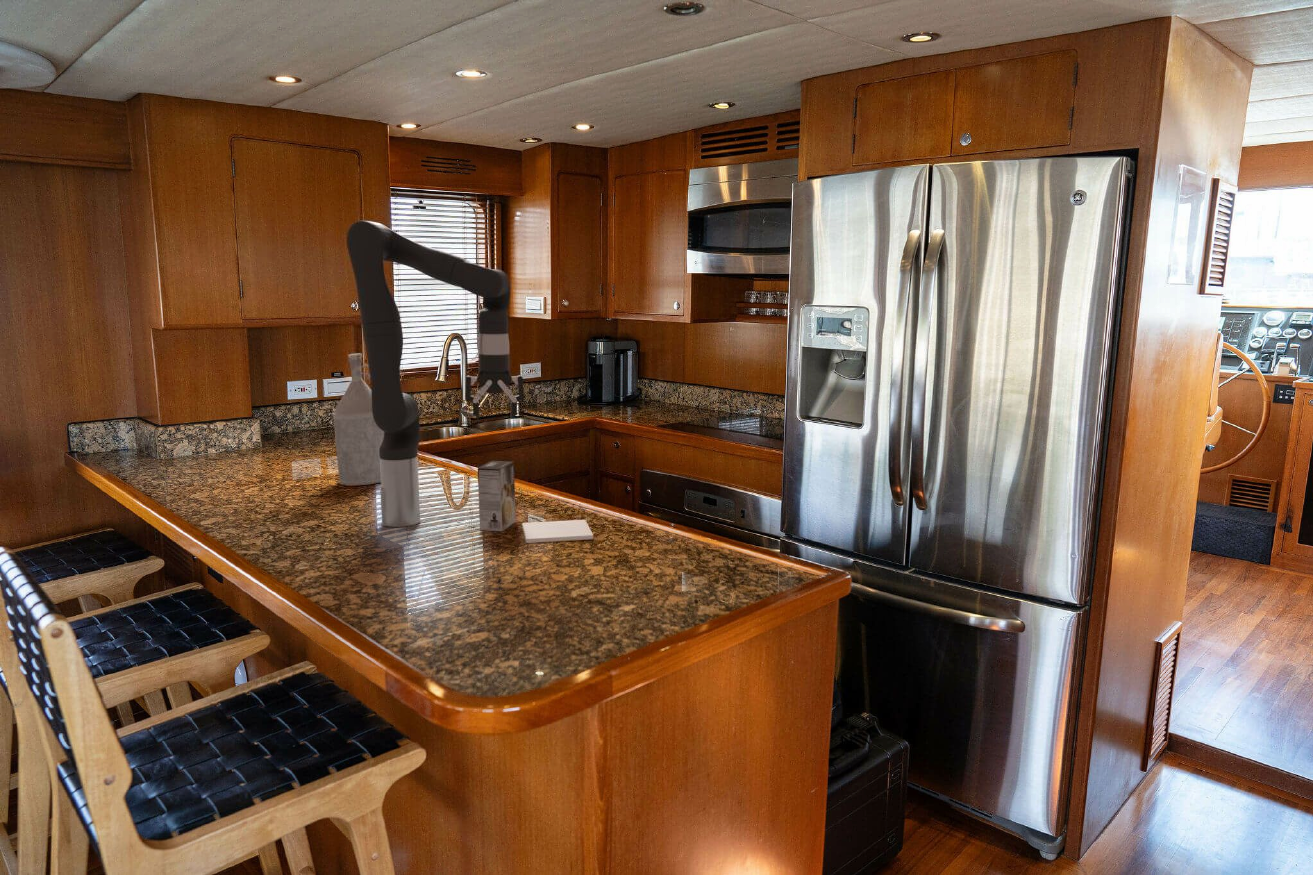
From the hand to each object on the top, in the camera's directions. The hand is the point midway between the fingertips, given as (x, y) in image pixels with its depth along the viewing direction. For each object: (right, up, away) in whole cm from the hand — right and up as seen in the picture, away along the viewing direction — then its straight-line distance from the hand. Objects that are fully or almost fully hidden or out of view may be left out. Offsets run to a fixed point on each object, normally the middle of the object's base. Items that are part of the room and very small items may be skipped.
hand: (495, 417), depth 213 cm
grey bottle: (-50, -19, +53) cm, 76 cm away
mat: (+15, -29, -1) cm, 32 cm away
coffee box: (0, -28, +5) cm, 28 cm away
